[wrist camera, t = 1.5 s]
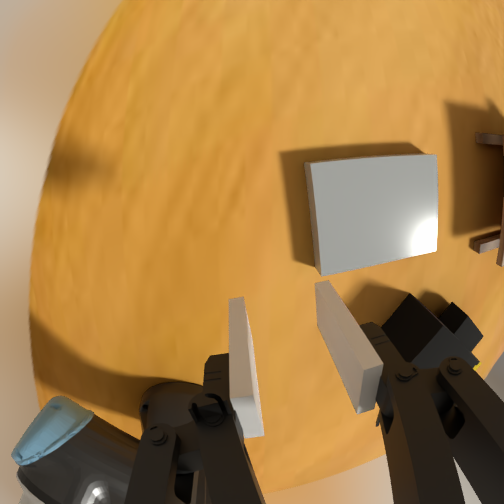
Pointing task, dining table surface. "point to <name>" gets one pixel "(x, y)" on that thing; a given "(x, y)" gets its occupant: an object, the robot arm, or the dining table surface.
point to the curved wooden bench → (500, 240)
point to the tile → (372, 209)
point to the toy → (432, 334)
